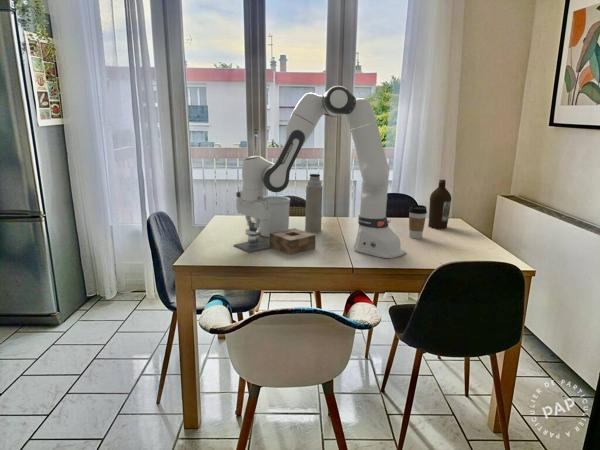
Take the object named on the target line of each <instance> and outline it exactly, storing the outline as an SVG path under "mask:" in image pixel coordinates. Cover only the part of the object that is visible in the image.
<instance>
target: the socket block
mask: <svg viewBox="0 0 600 450" xmlns="http://www.w3.org/2000/svg"><path fill="white" fill-rule="evenodd" d="M316 237H317V236H316V234H314V233H312V232H309V231H306V230H302V229H298V228H296V227H295V228H288V230H283V231H278V232H273V233H270V237H269V245H271V246H273V249H276V250H278V251H281V252H283V253H286V254H288V255H295V254H298V253H303V252H306V251H310V250H314V249H316V242H317V241H316V239H317V238H316Z"/></svg>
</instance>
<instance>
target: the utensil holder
mask: <svg viewBox="0 0 600 450" xmlns="http://www.w3.org/2000/svg"><path fill="white" fill-rule="evenodd" d="M264 198H266V199H267V201H268V203H269V206H270V219H269V220H266V221H262V220H261V222H260V224H259V229H261V234H260V236H262V237H264V238H270V233H273V232H278V231H283V230H288V229H289V226H290V204H291V198H290V197H287V196H283V195H264Z"/></svg>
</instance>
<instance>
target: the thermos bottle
mask: <svg viewBox="0 0 600 450" xmlns="http://www.w3.org/2000/svg"><path fill="white" fill-rule="evenodd" d="M320 178H321V175H320V174H319V173H310V174H309V180H307V185H306V186H305V187H306V188H305V189H306V191H305V218H304V219H305V226H304V231H305V232H308V233H318V232H321V231H322V214H323V213H322V211H323V188H324V186H323V184H322V180H320Z"/></svg>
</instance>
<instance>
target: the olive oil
mask: <svg viewBox="0 0 600 450" xmlns="http://www.w3.org/2000/svg"><path fill="white" fill-rule="evenodd" d="M446 182H447V181H446V179H439V180H438V187H436V189H435V190H433V191H432V192H431V194H430V196H429V209H428V210H429V212H428V225H427V226H428V228H430V227H431V229H434V228H435V229H434V230H445V229H447V228H448V222H449V217H450V209H451V205H452V194H451V193H450V192H449V190H448V189H447V188H446V185H447V183H446Z"/></svg>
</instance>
